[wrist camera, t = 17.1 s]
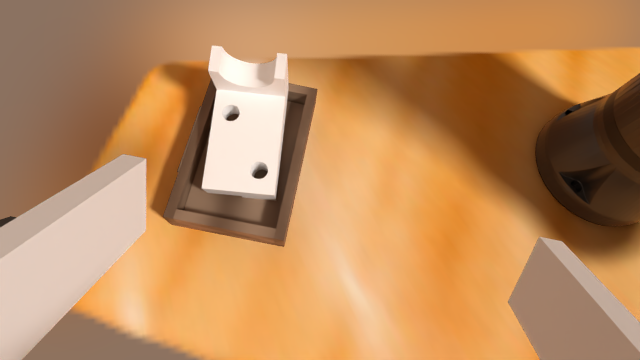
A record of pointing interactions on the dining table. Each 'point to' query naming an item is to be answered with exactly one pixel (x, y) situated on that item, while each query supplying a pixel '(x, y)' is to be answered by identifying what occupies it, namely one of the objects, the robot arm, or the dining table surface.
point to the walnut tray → (248, 213)
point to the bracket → (246, 126)
